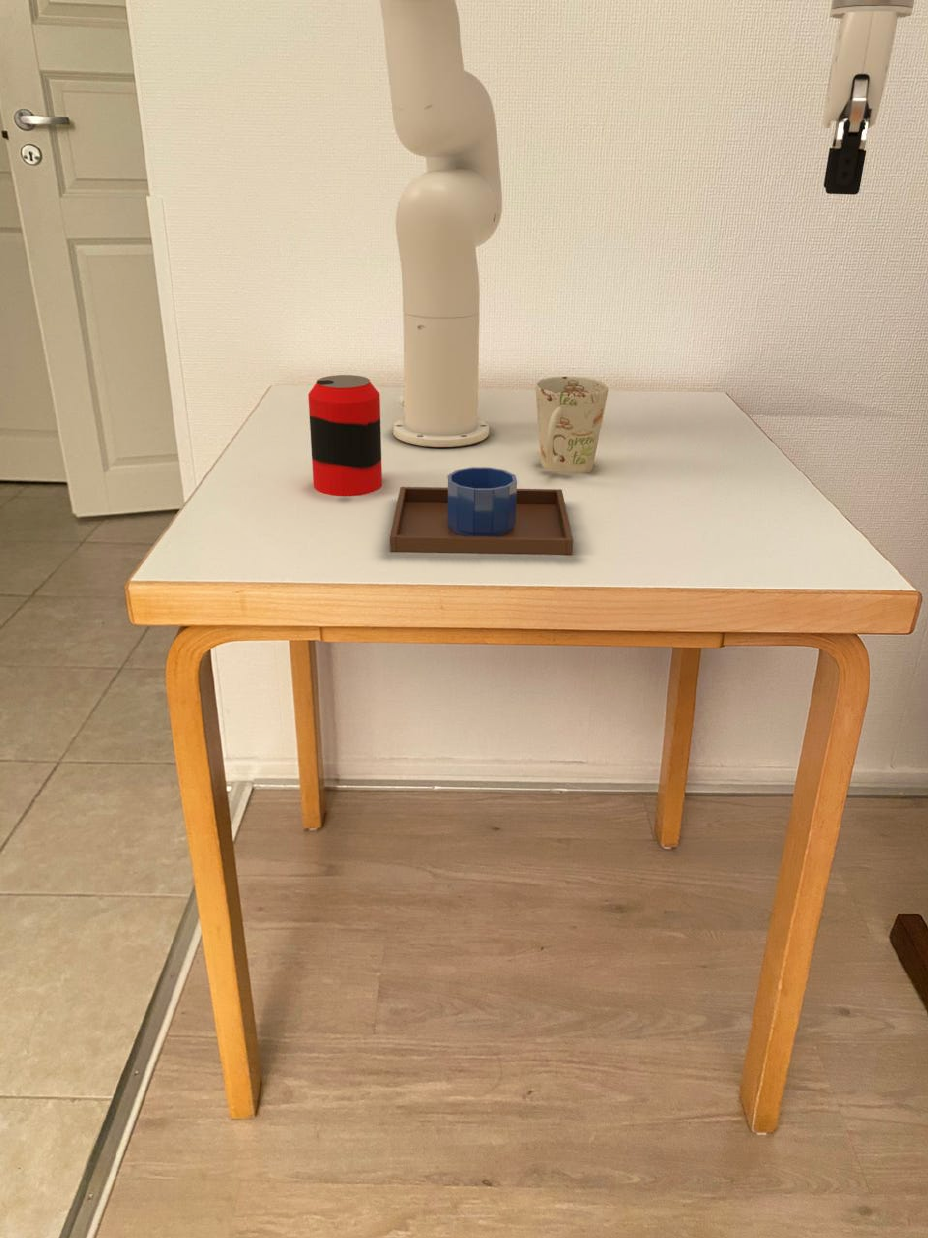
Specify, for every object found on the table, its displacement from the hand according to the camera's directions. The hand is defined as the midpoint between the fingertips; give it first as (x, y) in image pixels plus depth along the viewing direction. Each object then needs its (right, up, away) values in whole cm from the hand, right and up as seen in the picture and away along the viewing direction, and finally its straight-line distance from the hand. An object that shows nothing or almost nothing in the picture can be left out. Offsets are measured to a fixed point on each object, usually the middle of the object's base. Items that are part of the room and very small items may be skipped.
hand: (840, 191), depth 102 cm
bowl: (-38, -35, -4) cm, 52 cm away
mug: (-28, -28, +13) cm, 41 cm away
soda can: (-52, -30, +7) cm, 61 cm away
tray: (-38, -36, -4) cm, 52 cm away
